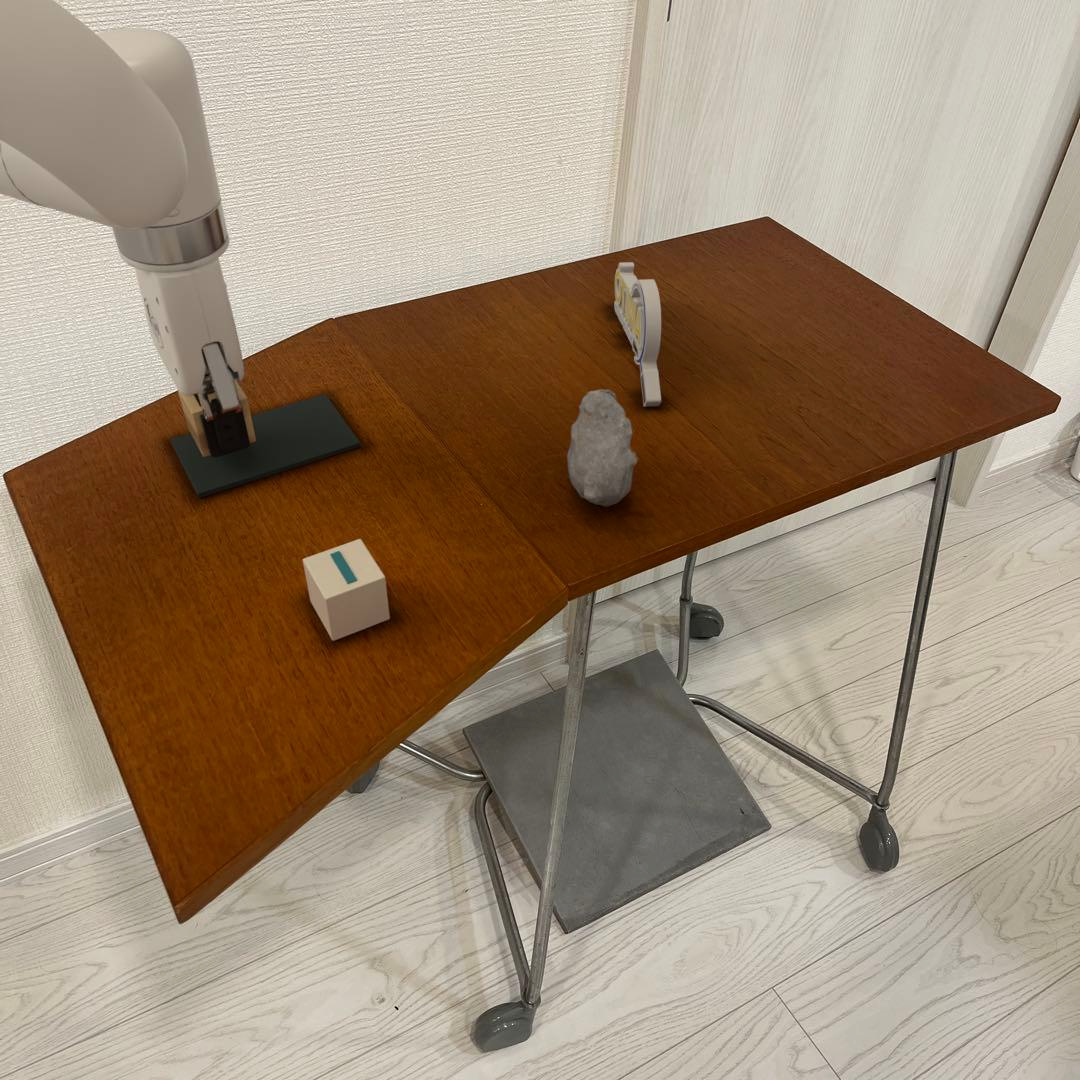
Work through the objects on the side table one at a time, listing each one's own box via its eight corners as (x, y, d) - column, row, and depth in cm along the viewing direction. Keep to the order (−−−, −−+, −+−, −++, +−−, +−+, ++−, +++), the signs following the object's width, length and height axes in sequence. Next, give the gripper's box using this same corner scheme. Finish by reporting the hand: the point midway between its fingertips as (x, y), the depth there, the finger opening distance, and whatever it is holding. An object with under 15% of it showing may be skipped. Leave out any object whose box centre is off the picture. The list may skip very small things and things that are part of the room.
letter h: (203, 457, 81) (191, 412, 78) (187, 427, 84) (175, 383, 81) (256, 441, 83) (247, 396, 80) (239, 412, 86) (229, 368, 83)
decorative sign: (612, 336, 106) (616, 241, 101) (624, 336, 106) (629, 241, 101) (645, 410, 91) (653, 304, 86) (660, 410, 92) (668, 303, 86)
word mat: (198, 498, 81) (197, 493, 81) (171, 443, 86) (170, 438, 86) (360, 447, 87) (360, 442, 86) (326, 398, 92) (325, 393, 91)
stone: (668, 515, 82) (684, 416, 75) (596, 543, 79) (606, 442, 72) (607, 450, 87) (616, 352, 80) (538, 474, 85) (542, 375, 78)
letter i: (332, 641, 71) (325, 598, 68) (310, 601, 74) (301, 557, 71) (390, 619, 73) (385, 575, 70) (366, 580, 75) (360, 536, 72)
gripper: (87, 189, 74) (147, 392, 87) (148, 296, 64) (206, 508, 77) (189, 169, 77) (233, 369, 90) (262, 268, 67) (300, 478, 80)
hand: (220, 431), depth 83 cm, fingers closed on letter h, 4 cm apart
